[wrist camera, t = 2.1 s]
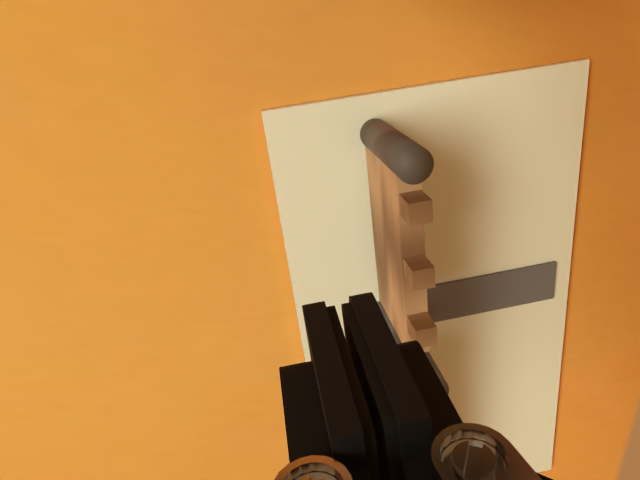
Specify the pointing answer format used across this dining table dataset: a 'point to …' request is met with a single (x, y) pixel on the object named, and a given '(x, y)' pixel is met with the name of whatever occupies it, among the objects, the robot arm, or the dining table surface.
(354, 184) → the card
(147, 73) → the dining table surface
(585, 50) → the dining table surface
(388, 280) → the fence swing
